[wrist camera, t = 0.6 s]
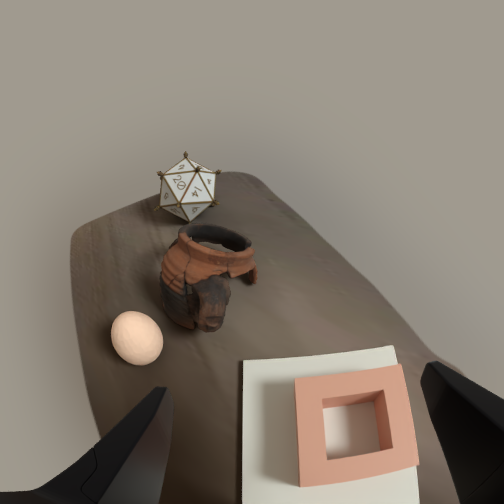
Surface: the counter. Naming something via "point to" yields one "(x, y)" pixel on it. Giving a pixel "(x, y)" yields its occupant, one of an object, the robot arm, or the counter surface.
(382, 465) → the pink square ring
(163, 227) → the counter surface
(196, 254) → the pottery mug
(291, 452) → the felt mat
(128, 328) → the egg
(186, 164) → the game die
